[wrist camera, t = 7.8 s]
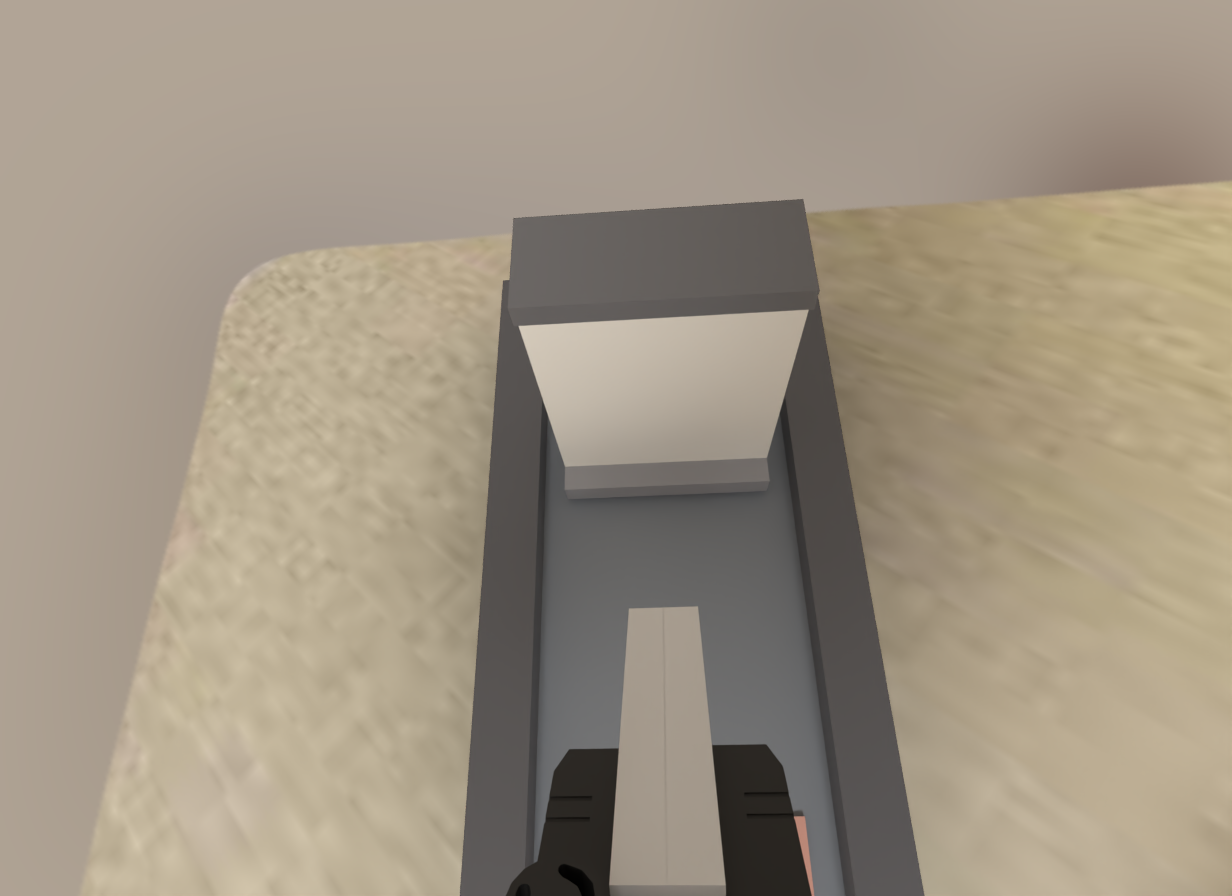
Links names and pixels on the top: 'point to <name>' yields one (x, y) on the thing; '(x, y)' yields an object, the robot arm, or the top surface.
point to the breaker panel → (729, 624)
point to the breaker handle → (663, 340)
